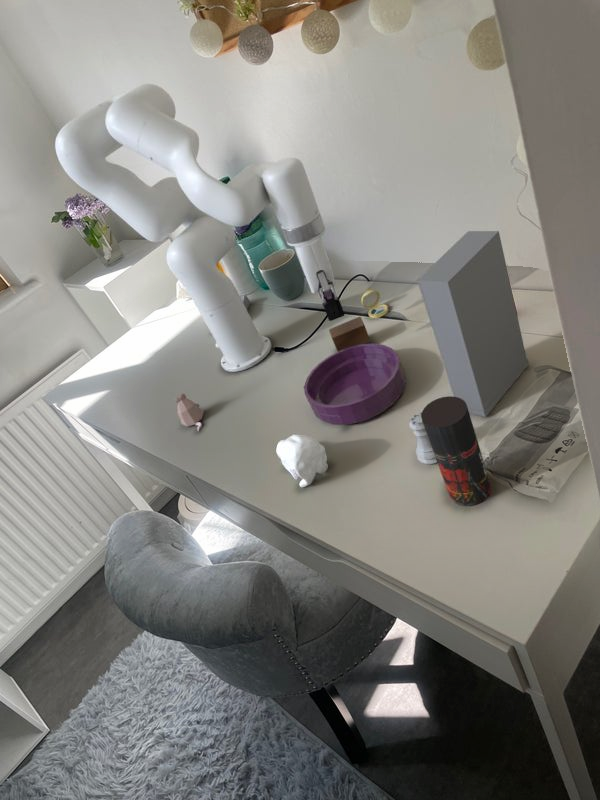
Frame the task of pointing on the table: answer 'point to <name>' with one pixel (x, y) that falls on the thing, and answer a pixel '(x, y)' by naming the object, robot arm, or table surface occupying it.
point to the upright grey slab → (475, 320)
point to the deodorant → (456, 450)
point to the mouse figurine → (189, 411)
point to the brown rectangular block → (350, 334)
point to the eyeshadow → (373, 304)
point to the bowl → (355, 384)
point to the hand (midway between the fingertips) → (332, 306)
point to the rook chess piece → (422, 440)
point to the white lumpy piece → (302, 457)
